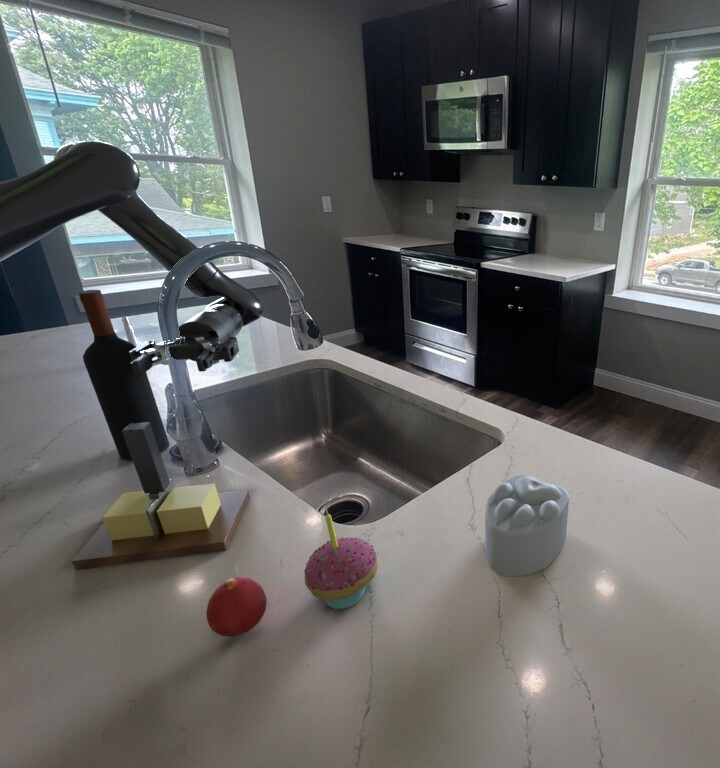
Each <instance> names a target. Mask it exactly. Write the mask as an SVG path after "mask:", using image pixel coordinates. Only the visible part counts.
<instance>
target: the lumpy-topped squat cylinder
mask: <svg viewBox="0 0 720 768" xmlns="http://www.w3.org/2000/svg"><path fill="white" fill-rule="evenodd" d="M569 505H570V495H569V493H568V491H567V490H566V489H565V488H563V487H561V486H559V485H557V484H552V483H548V482H545V481H543V480H541V479H539V478H538V477H535V476H533V475H528V474H520V475H515V476H513V477H510V478H508V479H506V480H505V481H504V482H501V483H499V484H498V485H496V486H495V487H494V489H493V492H492V493H491V494H490V495H489V497H488V498H487V500H486V505H485V512H484V521H485V522H484V545H485V546H484V555H485V559H486V562H487V564H488V566H489V567H490V569H492V571H493V572H495V573H496V574H498V575H501V576H504V577H524V576H528V575H532V574H534V573H538V572H539V571H541V570H544V569H546V568H547V567H548V566H550V565H551V563H552V562H553V561H554V560H555V559H556V558H557V556H558V555H559V554H560V552H561V550H562V548H563V546H564V545H565V543H566V540H567V532H568V531H567V530H568V521H569V520H568V519H569V508H570V507H569Z"/></svg>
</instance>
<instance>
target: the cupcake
mask: <svg viewBox="0 0 720 768" xmlns="http://www.w3.org/2000/svg"><path fill="white" fill-rule="evenodd" d="M324 510H325V511H324V512H325V516H324V518H325V523H326V526H327V531H328V534H329V535H328V536H329V538H330V540H327V541H326V542H325V543H324V544H322V545H320V546H319V547H317V548H316V549H315V550H314V551H313V552H312V554H311V555H310V556H309V557H308V560H307V562H306V563H305V564H306V565H305V569H304V570H303V571H304V584H305V587H306V588H307V590H309V591H310V593H311V594H312V596H313V597H315V598H317V599H322V600H323V601H324V603H325V604H326V605H327V606H329V607H330V608H332V609H334V610H335V609H336V610H343V609H344V610H345V609H347V608H350V607H352V606H354V605H356V604H357V603H358V602H359V601H360V600H361V599H362V597H363V596H364V595H365V590H366V586H367V584H369V582H370V581H372V580H373V579H374V578H375V576H376V574H377V572H378V569H379V568H378V567H379V561H378V558H377V552H376V551H375V548H374V546H373V544H370V543H369V542H367V541H365V540H364V539H360V538H359V537H350V536H347V537H344V536H342V537H339V538H337V536H336V532H335V531H336V530H335V527H334V523H333V519H332V515H331V514H329V511H328V509H327V508H325V509H324Z"/></svg>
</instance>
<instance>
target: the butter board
mask: <svg viewBox="0 0 720 768" xmlns="http://www.w3.org/2000/svg"><path fill="white" fill-rule="evenodd" d="M217 493H218V496H219V500H220V503H221V505H220V507H219V509H218V511H217V513H216V515H215V517H214V519H213V521H212V522H211V524H210V526H209V528H208V529H202V530H194V531H186V532H178V533H169V534H165V533H164V531H163V533H162V534H161V536H160V537H159V539H156V538H155V535H153V536H145V537H136V538H128V539H120V540H111V538H110V535H109V533H108V531H107V528H106V526H105V524H104V522H102V524H101V526H99V527H98V529H97V530H96V531H95V532H94V534H92V536H91V538H89V540H88V541H87V542H86V543H85V544H84V546H83V547H82V548H81V549H80V550H79V552H78V553H77V554H76V555H75V556H74V558H73V559H72V560H71V563H72V566H73V567H74V569H75V571H77V570H84V569H85V570H86V569H93V568H94V569H95V568H100V567H107V566H115V565H116V566H117V565H123V564H131V563H139V562H147V561H153V560H161V559H162V560H163V559H169V558H177V557H184V556H185V557H186V556H193V555H200V554H207V553H215V552H216V553H217V552H221V551H223V552H224V551H227V549H228V548H229V546H230V543H231V541H232V538H233V536H234V535H235V532H236V530H237V527H238V525H239V523H240V521H241V518H242V516H243V514H244V512H245V510H246V507H247V506H248V503H249V501H250V498H251V495H250V491H249V489H244V490H234V491H225V492H224V491H223V492H217Z"/></svg>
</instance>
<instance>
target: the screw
mask: <svg viewBox="0 0 720 768" xmlns="http://www.w3.org/2000/svg"><path fill="white" fill-rule="evenodd" d="M121 321H122V325H123V330H124V332H125V334H124V335H125V336H126V339H127V341H129V342H131V343H132V344H133V345H135V346H136V347H137V346H139V345H138V341H137V339H136V338H137V337H136V335H135V332H134V328H133V326H132V325H131V323H130V321H129V318H128V316H125V315H124V316H122V317H121Z"/></svg>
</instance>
